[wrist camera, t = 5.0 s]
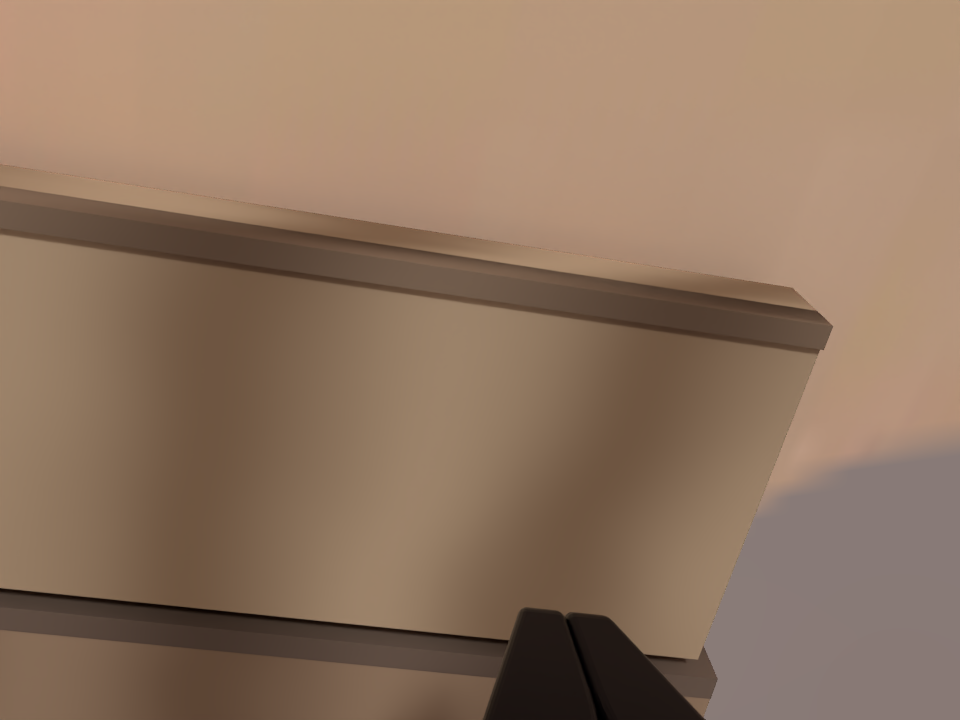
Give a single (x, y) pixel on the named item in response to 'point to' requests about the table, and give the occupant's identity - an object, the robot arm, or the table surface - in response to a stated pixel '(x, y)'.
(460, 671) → the laid board
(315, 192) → the table surface
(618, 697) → the robot arm
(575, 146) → the table surface
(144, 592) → the plank
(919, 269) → the table surface
